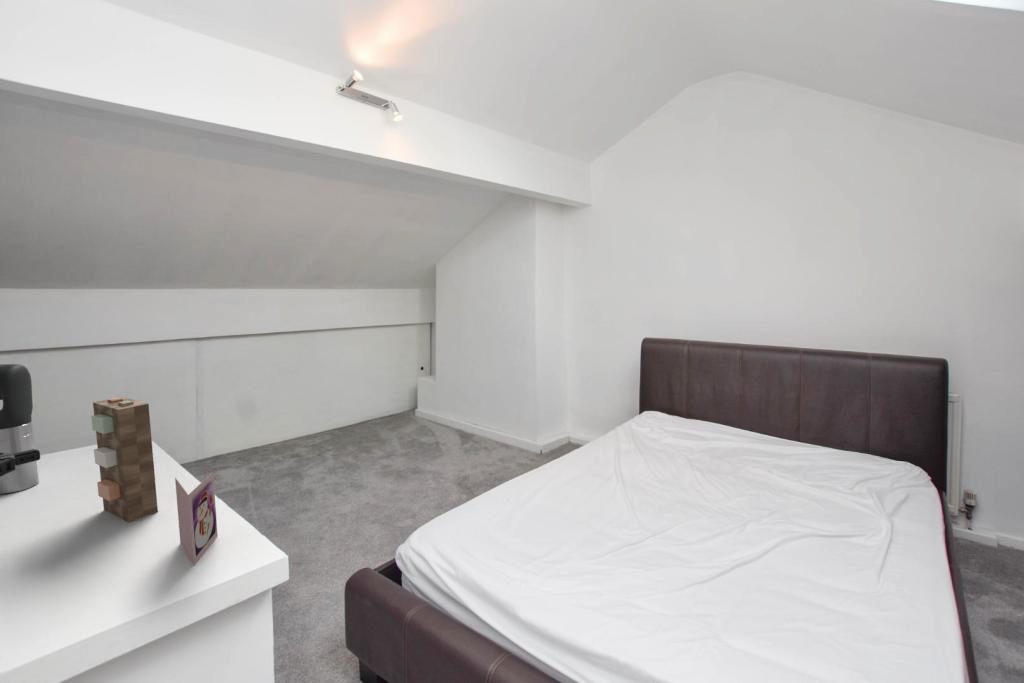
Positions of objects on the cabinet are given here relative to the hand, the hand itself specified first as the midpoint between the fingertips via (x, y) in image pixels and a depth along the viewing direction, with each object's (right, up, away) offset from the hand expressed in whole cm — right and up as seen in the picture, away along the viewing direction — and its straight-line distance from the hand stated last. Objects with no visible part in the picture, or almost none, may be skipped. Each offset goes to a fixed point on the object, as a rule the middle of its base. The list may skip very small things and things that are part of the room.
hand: (38, 454), depth 103 cm
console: (+7, -18, +16) cm, 25 cm away
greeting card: (+33, -21, 0) cm, 38 cm away
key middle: (+5, -5, +11) cm, 13 cm away
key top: (+6, +3, +10) cm, 12 cm away
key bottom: (+5, -13, +12) cm, 19 cm away
